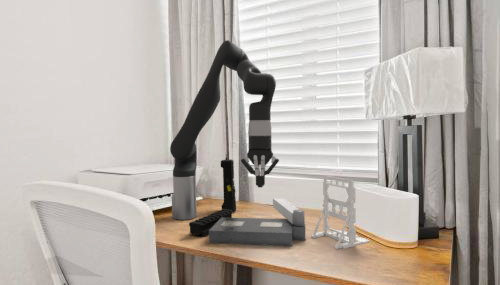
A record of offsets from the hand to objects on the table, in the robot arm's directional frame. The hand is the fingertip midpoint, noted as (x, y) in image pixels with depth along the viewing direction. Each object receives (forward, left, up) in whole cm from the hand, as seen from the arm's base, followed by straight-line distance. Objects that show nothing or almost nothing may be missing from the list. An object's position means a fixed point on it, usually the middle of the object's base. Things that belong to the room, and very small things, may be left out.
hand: (260, 187), depth 109 cm
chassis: (-1, 0, -17) cm, 17 cm away
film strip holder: (+26, 0, -17) cm, 31 cm away
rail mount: (-19, +7, -17) cm, 27 cm away
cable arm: (+8, +11, -12) cm, 19 cm away
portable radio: (-19, +33, -17) cm, 41 cm away
